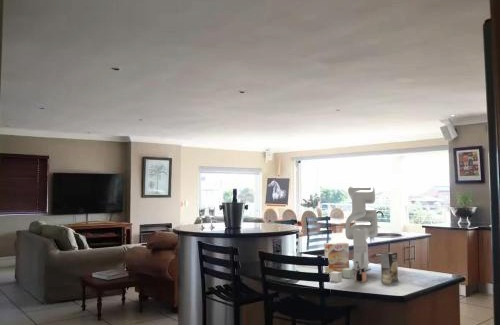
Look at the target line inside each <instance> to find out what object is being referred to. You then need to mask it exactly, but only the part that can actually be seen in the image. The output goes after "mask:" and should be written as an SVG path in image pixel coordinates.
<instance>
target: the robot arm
mask: <svg viewBox="0 0 500 325" xmlns="http://www.w3.org/2000/svg"><path fill="white" fill-rule="evenodd" d="M375 191H376V190H375V187H374V186H372V185H353V186H350V187H348V189H347V193H348V195H349V198H350V199H351V210H352V211H351V214H349V216H348V217H347V218H346V221H345V226H344V227H345V229H344V230H345V238H346V239H347V240H350V241H351V240H352V241H353V242H352V243H353V257H352V258H353V260H352V263H353V265H352V267H351V269H353V270H354V271H355V273H356V280H357V281H356V280H355V281H356V282H358V281H362V274H361V272H366V271H370V270H371V269H372V268H371V266H369V265H370V262H369V246H368V245H369V244H368V242H367V239H369V238H375V237H377V236H378V234H379V233H378V232H379V230H378V229H379V228H378V226H379V225H378V213H377V210H376V209H375V208H371V207H366V205H367V204H368V205H369V204H374V203H375V201H376V192H375ZM354 221H355V222H357V223H354V224H352V222H354ZM351 224H352V226H351ZM366 273H367V272H366Z"/></svg>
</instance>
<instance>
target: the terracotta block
mask: <svg viewBox="0 0 500 325" xmlns="http://www.w3.org/2000/svg"><path fill="white" fill-rule="evenodd" d="M361 274H362V281H357V280H356V272H355V275H354V276H355V278H354V279H355V280H354V281H355V282H357V283H358V282H360V283H365V282H366V281H368V280H367V275H368V274H367V272H361Z"/></svg>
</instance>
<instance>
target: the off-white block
mask: <svg viewBox="0 0 500 325" xmlns="http://www.w3.org/2000/svg"><path fill="white" fill-rule="evenodd" d="M329 276H330V278H329V279H330V282H337V283H339V282H341V281H343V280H342V279H343V275H342V273H341V272H335V271H334V272H331V273H330V274H329Z"/></svg>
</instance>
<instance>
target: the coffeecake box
mask: <svg viewBox="0 0 500 325" xmlns="http://www.w3.org/2000/svg"><path fill="white" fill-rule="evenodd" d="M323 246H324V258H325V257H326V258H328V260H329V266H328V267H325V266H324V272H325V273H326V274H328V273H331V272H334V271H335V272H341V274H342V269H344V268H350V245H349V243H347V242H325V243H324V245H323Z"/></svg>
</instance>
